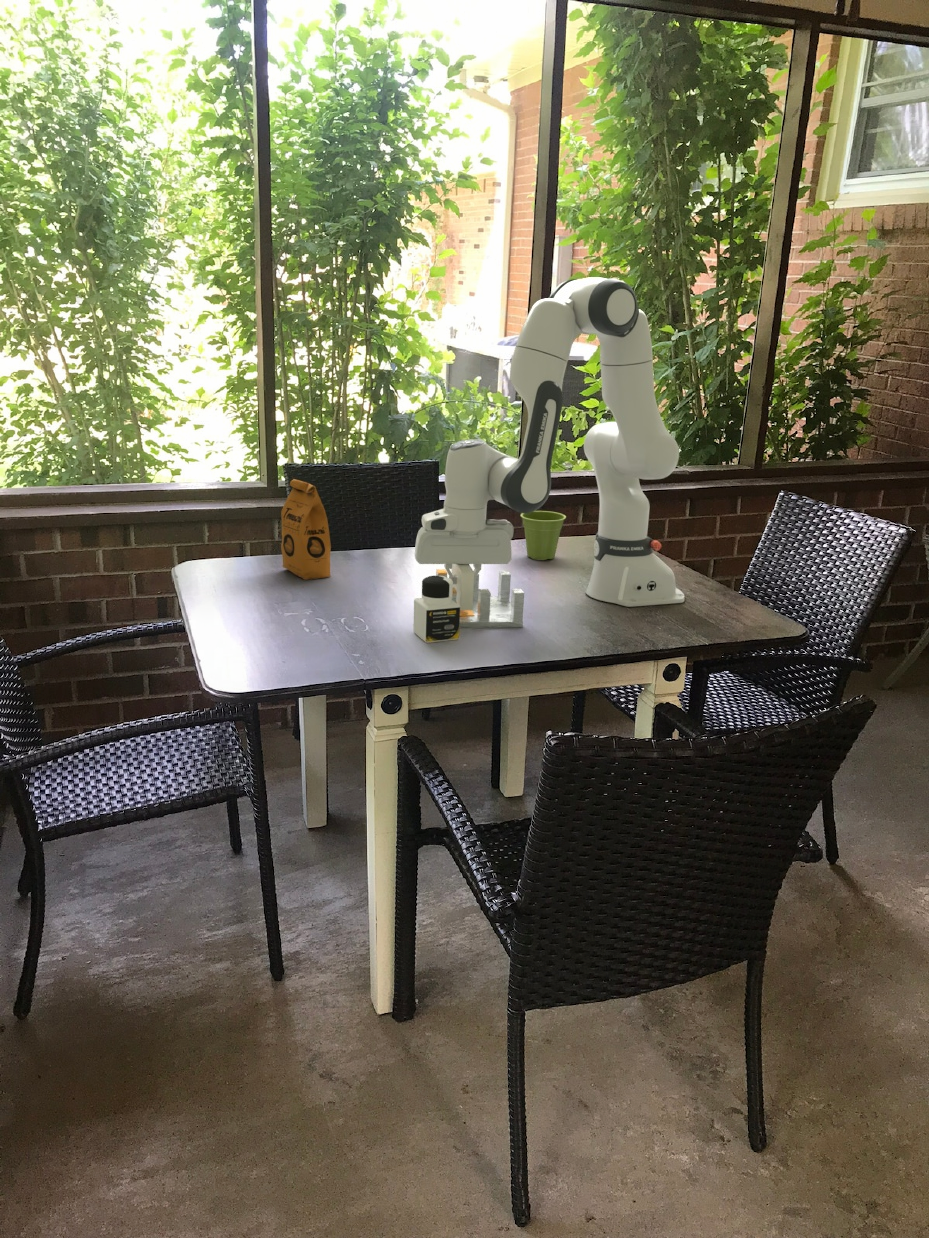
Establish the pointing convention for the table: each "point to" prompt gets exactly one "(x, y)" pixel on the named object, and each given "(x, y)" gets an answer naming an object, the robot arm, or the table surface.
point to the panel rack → (492, 605)
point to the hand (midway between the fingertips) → (461, 583)
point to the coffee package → (305, 533)
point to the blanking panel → (464, 585)
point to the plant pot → (542, 533)
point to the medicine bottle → (436, 611)
